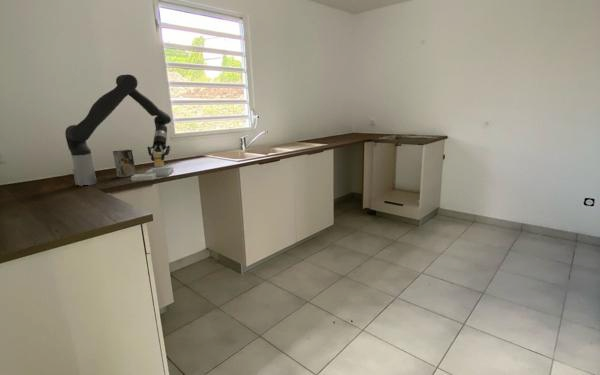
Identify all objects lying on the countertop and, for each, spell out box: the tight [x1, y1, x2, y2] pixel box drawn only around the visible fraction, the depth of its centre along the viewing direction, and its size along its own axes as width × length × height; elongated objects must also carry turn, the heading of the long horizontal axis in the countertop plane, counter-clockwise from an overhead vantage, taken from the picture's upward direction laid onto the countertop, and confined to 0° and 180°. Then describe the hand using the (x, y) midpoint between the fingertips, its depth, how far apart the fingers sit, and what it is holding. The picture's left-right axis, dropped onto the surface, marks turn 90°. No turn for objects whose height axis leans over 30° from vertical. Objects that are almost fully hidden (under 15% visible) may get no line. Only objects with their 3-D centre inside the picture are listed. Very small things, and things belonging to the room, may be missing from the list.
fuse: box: [153, 152, 165, 168], centre depth 204 cm, size 5×2×8 cm, turn 97°
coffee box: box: [112, 149, 137, 178], centre depth 203 cm, size 9×6×16 cm
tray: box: [144, 166, 174, 178], centre depth 206 cm, size 13×13×3 cm
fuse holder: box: [130, 173, 157, 182], centre depth 193 cm, size 12×7×2 cm, turn 97°
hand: (157, 160), depth 202 cm, fingers closed on fuse, 5 cm apart
